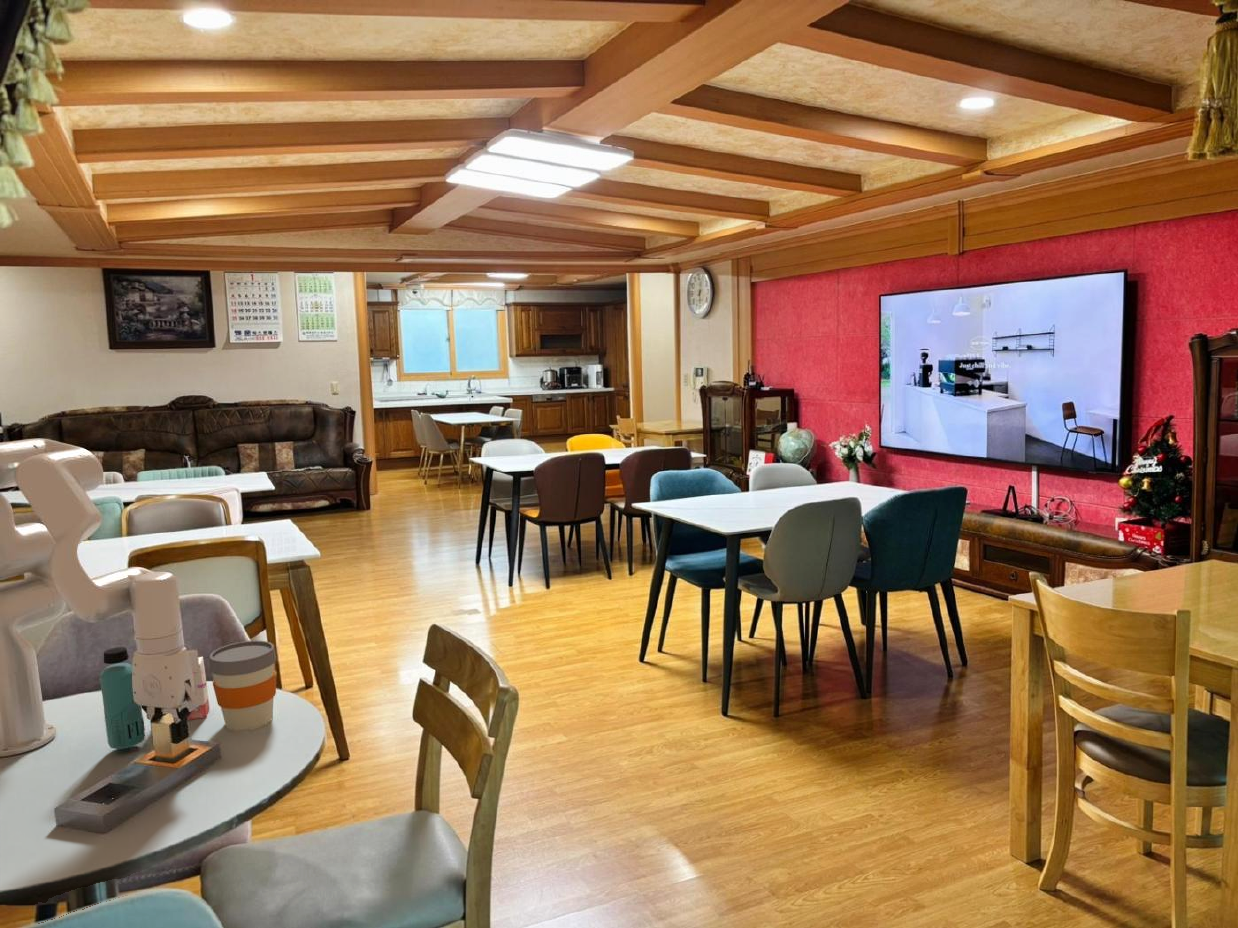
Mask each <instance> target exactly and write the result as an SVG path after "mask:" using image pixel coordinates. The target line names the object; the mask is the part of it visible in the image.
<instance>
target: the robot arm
mask: <svg viewBox="0 0 1238 928" xmlns="http://www.w3.org/2000/svg"><path fill="white" fill-rule="evenodd" d="M103 480H104V469H103V465H102V464H101V462H100V460H99V458H98V457H96V455H95V454H93V453H92V452H91V451H89V450H87V449H85V448H84V447H81V446H76V445H73V444H70V443H69V444H68V443H64V442H61V441H57V440H52V439H50V438H41V437H40V438H29V439H28V438H27V439H20V440H19V439H18V440H12V441H3V442H0V490H1V489H7V488H11V487H17V488H18V489H19V491H20V492H21V494H22V495H23V496H24V497H25V499H26V501H27V502H28V503H29V505H30V506H31V508H32V510H33V511H34V512H35V513H36V515H37V516H38V518H39V519H40V521H41V522H42V523H39V522H27V523H21V524H17V525H16V524H15V518H14V517H15V516H14V509H13V507H12V505H11V502H10V501H9V499H8V498H6V497H5V494H3V493H1V492H0V580H1V581H2V580H5V579H9V578H13V577H17V576H19V575H23V577H24V579H19V580H16V581H13V582H8V583H5V584H4V583H3V584H1V585H0V758H1V757H10V756H14V755H19V754H23V753H26V752H29V751H32V750H34V749H37V748H39V747H42V746H44V745H45V744H48V743H50V742H51V741H52V740H53V739H54V738H55V737H56V735H57V729H56V726H54V725H52V724H50V723H46V717H45V711H44V710H45V709H44V702H43V695H42V689H41V688H42V687H41V682H40V681H41V680H40V674H39V668H38V667H39V666H38V660H37V653H36V651H35V649H34V646H33V645H32V644H31V643H30V642H29V641H28V640H26V638H24V637H23V636H22V634H21V632H22V631H25V630H27V629H30V628H33V627H36V626H39V625H41V624H44V623H47V622H49V621H52V620H54V619H56V618H59V616H61V614H62V613H63V612H64V610H65V608H66V605H67V606H68V609H70V611H72V613H73V614H74V615H75V616H76V617H77V618H79V619H80V620H82V621H84V622H88V623H97V622H98V623H99V622H102V621H105V620H107V619H110V618H114V617H116V616H120V615H122V614H124V613H127V612H131V613H132V621H133V629H134V636H133V640H134V642H135V647H136V648H135V649H136V650H134V651H133V656H132V661H131V662H132V663H131V665H132V686H133V697H134V701H135V703H137V704H138V705H140V706H141V707H142V708H141V709H142V711H144V712H145V714H146V719H147V720H149V721H150V722H149V723H150V724H151V723H152V722H153V721H155V720H157V719H159V718H161V717H163V716H164V715H166V714H165V713H164V714H163V712H164V708H165V709H171V713H172V717H173V720H174V722H173V723H171V725H172V734H173V742H174V744H178V743H180V742H182V741H183V740H185V739H187V738H189V736H190V731H189V720H187V718H188V717H189V716H190V714H191V712H192V711H193V710H194V709H196V708H197V707H199V706H200V705H201V703H200V701H199V700H198V698H197V697H196V695H195V683H194V676H193V671H192V666H191V662H190V658H189V655H188V652H187V651H188V650H187V647H185V641H184V640H185V639H184V633H183V631H184V630H183V623H182V613H181V606H180V595H179V594H180V593H179V586H178V579H177V577H176V576H175V575H174V574H173V573H171V572H167V571H153V570H149V569H148V568H144V567H139V566H131V567H127V568H124V569H119V570H117V571H113V572H109V573H106V574H102V575H98V576H96V577H92V578H90V576H89V574H88V573H87V572H86V570H85V568H83V566H82V565H81V564H82V563H81V562H80V560H79V556H78V547H79V545H80V544H81V543H82V542H84V541H85V540H87V539H88V538H89V537H90V536H92V535H93V534H94V533H95V532H96V531H98V530H99V528H100V526H101V525H102V523H103V516H102V513H101V512H100V510H99V509H98V507H97V506H96V505H95V502H93V501H92V499H91V498H90V496H89V495H88V493H87V492H91V491H94V490H96V489H97V488H99V487H100V486H101V484H102V483H103ZM187 703H188V704H187ZM180 706H181V711H180V712H179V710H178V708H179V707H180ZM150 729H151V730H150V732H152V727H151V726H150ZM151 738H152V741H153V735H152V734H151Z"/></svg>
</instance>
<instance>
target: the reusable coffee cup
mask: <svg viewBox="0 0 1238 928" xmlns="http://www.w3.org/2000/svg"><path fill="white" fill-rule="evenodd" d="M276 661H277V653H276V650H275V645H274V644H273V643H272V642H270V641H266V640H248V641H247V640H246V641H239V642H234V643H230V644H227V645H224V646H221V647H219V648H217V649H215V650H213V651H212V652H211V653H210V655H209V673H211V675H212V678H213V682H212V686H213V691H214V696H215V699H216V703H217V705H218V706H219V707H220V709H221V712H222V716H223V717H222V718H223V721H224V724H225V728H226V729H228V730H229V731H233V732H234V731H236V732H240V731H242V732H243V731H250V730H254V729H258V728H261V727H263V726H266V725H268V724H269V723H270V722H271V721H272V720H273V717H274V714H273V713H274V699H275V696H276V694H277V675H278V673H277V671H276ZM271 719H272V720H271ZM269 721H270V722H269ZM268 722H269V723H268ZM260 726H261V727H260Z"/></svg>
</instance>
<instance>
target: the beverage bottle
mask: <svg viewBox="0 0 1238 928" xmlns="http://www.w3.org/2000/svg"><path fill="white" fill-rule="evenodd" d="M128 659H129V653H128V649H127V647H123V646H118V647H112V648H108V649H107V650H105V651H103V663H104V664H106V665H108V666H106V667H105V668H104V669H103V670H102V671H101V672H100V673H99V682H100V687H101V688H100V689H101V696H102V704H103V713H104V714H103V718H104V722H105V724H104V725H105V730H106V731H105V733H106V738H107V739H106V741H107V744H108V745H109V748H111V749H114V750H115V749H116V750H118V749H119V750H120V749H127V748H132V747H134V746H137V745H139V744H141V743H142V742H143V741H144V740H145V736H146V734H145V731H146V729H145V719H144V715H143V709H142V707H141V706H140V705H138V704H137V703H135V701H134V697H133V686H132V663H131V664H130V663H128V662H125V661H127V660H128Z"/></svg>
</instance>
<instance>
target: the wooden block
mask: <svg viewBox="0 0 1238 928" xmlns="http://www.w3.org/2000/svg"><path fill="white" fill-rule="evenodd" d="M173 722H174V720H173V717H172V714H169V713H168V714H166V715H164V716H163V717H161V718H159V719H157V720H155V721H153V722H152V723H150V728H151V727H152V731H151V736H152V735H153V740H152V742H153V749H154V752H155V760H156V762H163V763H170V764H175V763H176V762H178V761H180V760H181V759H183V758H185V757H186V756H188V755H189V754H190V747H189V739H190V738H189V737H188V738H187V739H185V740H183V741H182V742H180V743H178V744H174V742H173V734H172V725H171V723H173Z"/></svg>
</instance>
